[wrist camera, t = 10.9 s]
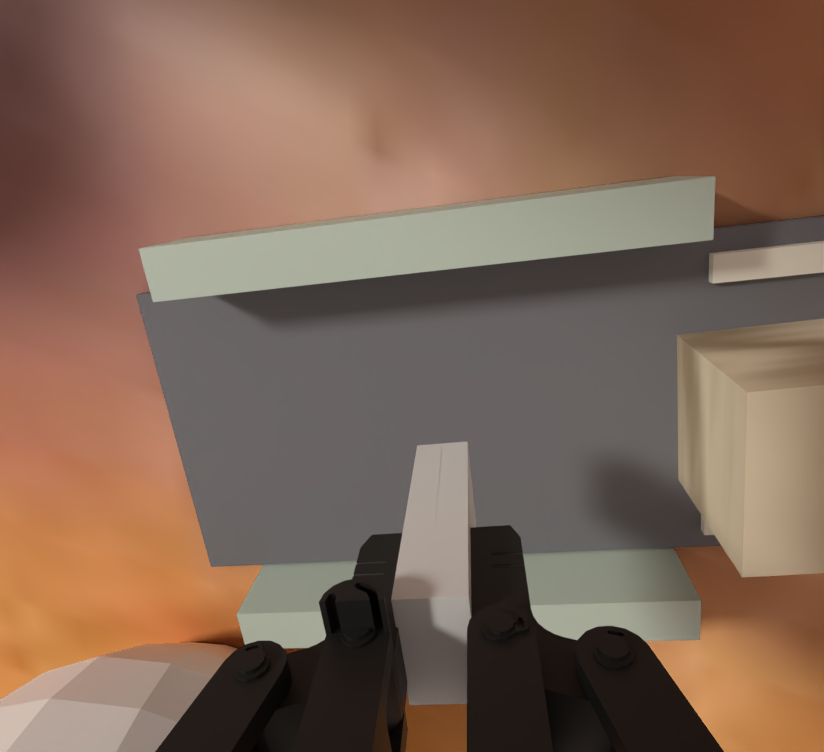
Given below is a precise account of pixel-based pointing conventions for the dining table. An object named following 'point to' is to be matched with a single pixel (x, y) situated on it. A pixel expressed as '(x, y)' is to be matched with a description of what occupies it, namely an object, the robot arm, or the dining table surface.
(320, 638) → the channel
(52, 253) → the dining table surface
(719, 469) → the block
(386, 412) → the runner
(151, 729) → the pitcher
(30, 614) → the dining table surface
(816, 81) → the dining table surface
